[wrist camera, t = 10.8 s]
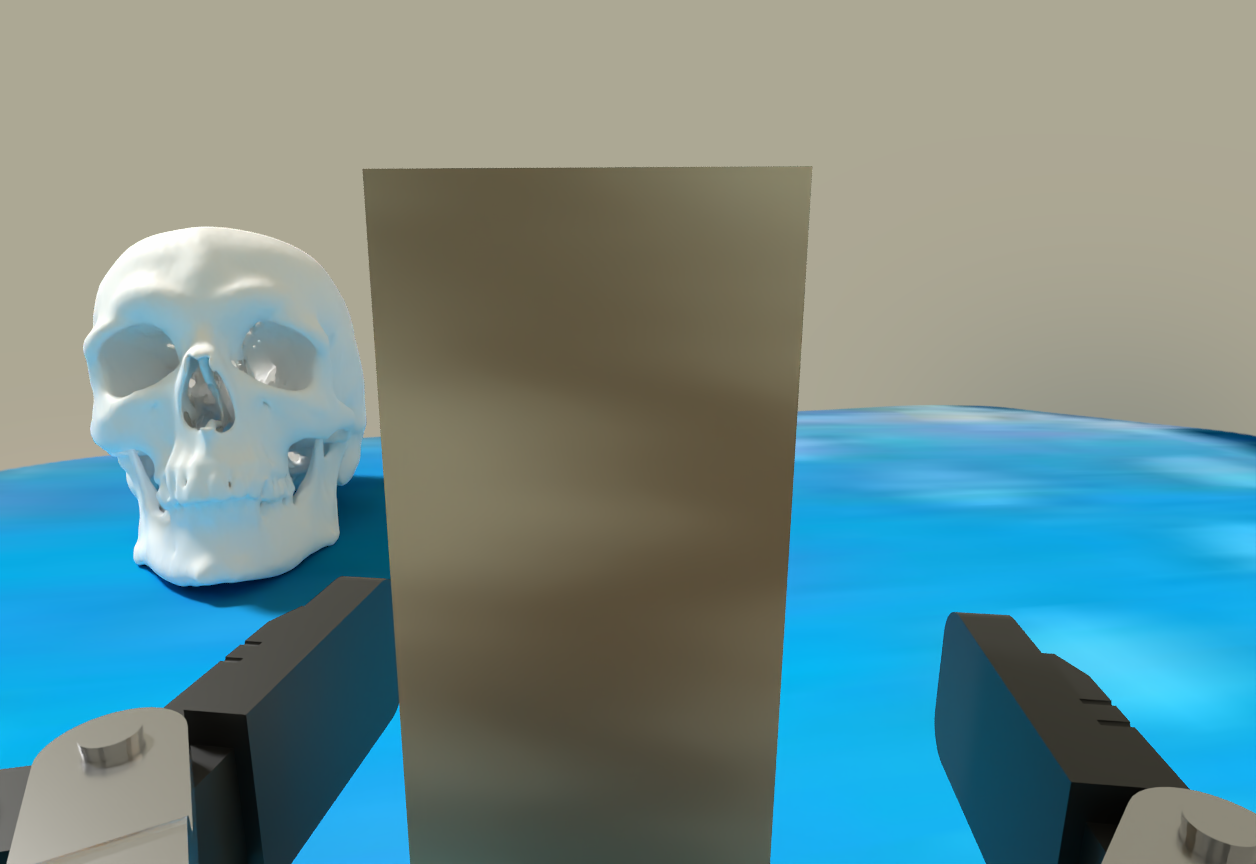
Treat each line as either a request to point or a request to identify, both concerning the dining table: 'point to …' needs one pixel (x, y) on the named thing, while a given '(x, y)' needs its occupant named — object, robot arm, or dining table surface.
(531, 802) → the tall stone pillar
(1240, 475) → the dining table surface
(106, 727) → the robot arm
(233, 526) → the skull planter
